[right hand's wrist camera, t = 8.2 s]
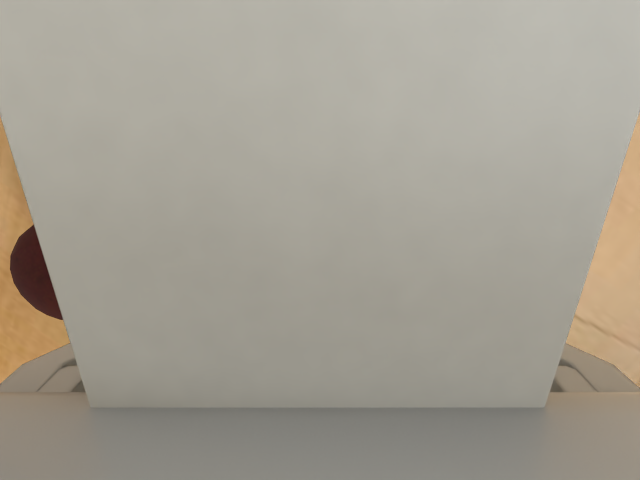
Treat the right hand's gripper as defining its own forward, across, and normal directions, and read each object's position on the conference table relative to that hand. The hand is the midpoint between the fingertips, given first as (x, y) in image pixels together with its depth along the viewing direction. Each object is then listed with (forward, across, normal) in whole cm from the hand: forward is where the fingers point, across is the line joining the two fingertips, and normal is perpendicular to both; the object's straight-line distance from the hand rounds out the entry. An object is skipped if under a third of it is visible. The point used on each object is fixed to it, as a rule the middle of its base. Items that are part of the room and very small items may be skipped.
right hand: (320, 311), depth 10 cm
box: (+5, 0, +9) cm, 10 cm away
